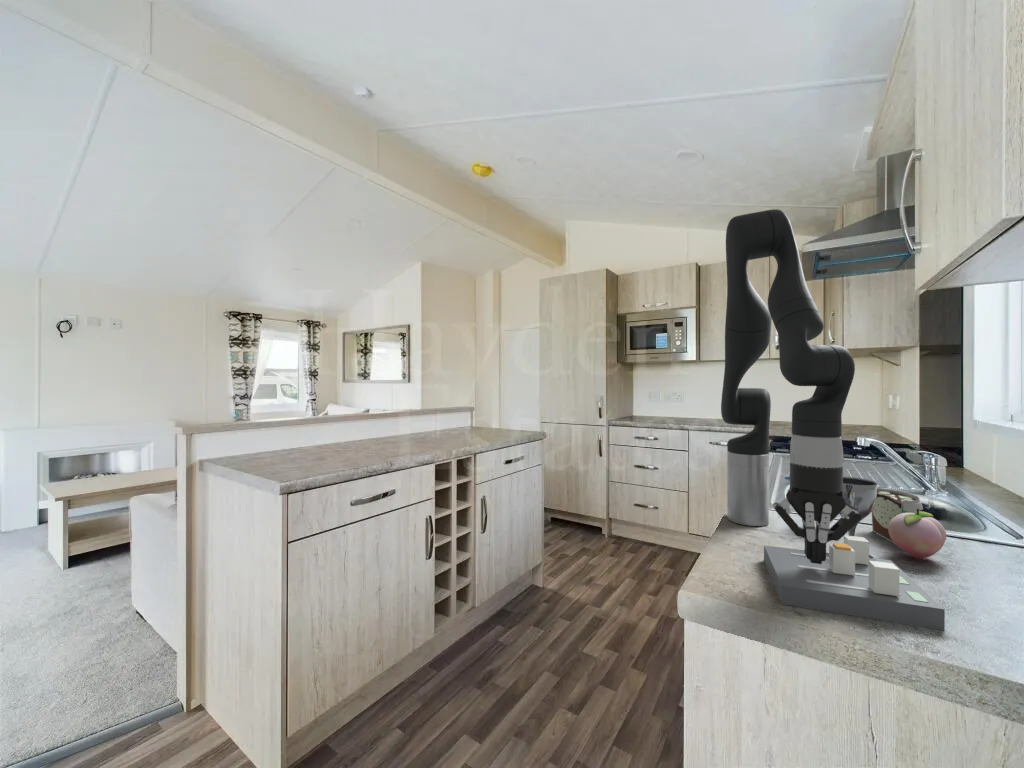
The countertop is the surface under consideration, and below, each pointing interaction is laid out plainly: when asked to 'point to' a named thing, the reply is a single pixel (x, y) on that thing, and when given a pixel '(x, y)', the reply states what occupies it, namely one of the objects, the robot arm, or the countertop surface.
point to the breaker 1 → (858, 548)
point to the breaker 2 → (884, 578)
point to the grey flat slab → (848, 590)
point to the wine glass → (859, 497)
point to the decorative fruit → (917, 533)
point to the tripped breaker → (841, 559)
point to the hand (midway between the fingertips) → (814, 561)
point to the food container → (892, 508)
